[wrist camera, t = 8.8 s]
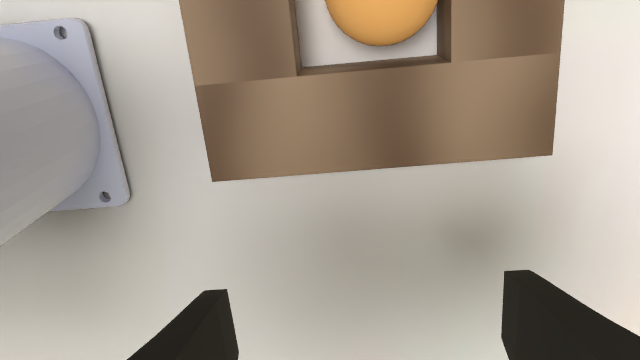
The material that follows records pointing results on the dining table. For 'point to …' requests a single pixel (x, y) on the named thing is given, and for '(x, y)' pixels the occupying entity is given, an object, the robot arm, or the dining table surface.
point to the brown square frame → (372, 91)
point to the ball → (380, 19)
